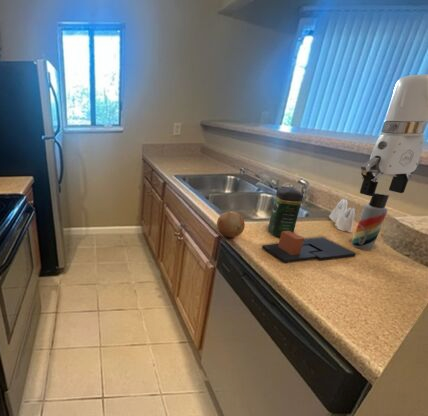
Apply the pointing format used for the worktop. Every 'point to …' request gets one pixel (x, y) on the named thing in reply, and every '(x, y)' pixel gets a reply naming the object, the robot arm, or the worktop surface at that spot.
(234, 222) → the brown ball
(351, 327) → the worktop surface
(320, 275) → the worktop surface
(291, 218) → the coffee jar
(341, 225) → the shaker set
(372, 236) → the lotion bottle
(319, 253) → the charcoal pad
